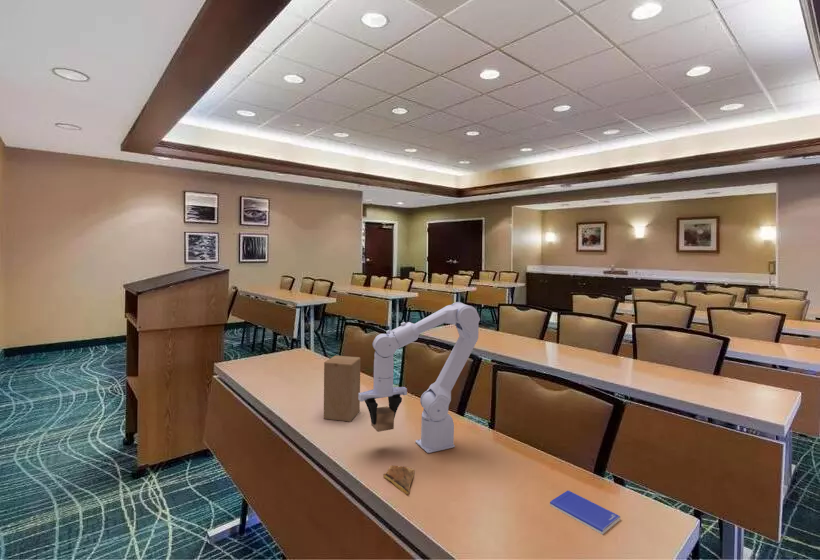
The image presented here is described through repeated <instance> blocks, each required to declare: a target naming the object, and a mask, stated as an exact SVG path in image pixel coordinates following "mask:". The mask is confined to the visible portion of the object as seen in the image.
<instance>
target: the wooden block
mask: <svg viewBox="0 0 820 560" xmlns="http://www.w3.org/2000/svg"><path fill="white" fill-rule="evenodd" d="M323 370H324V371H323V419H324V420H332V421H341V422H342V421H343V422H348V423H349V422H352V420H353V419H354V418H355V417H356V415H358V414H359V412H360V410H361V409H360V408H361V406H360V405H361V402H360V401H359V400H358V393H361V357H359V356H346V355H334V356H332V357H331V358H329V359H327V360H325V361H324V362H323Z"/></svg>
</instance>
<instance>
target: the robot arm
mask: <svg viewBox="0 0 820 560" xmlns="http://www.w3.org/2000/svg"><path fill="white" fill-rule="evenodd" d="M480 321H481V318H480V315H479V312H478V311H477V309H476V308H475V307H474V306H473V305H468V304H465V303H463V302H462V301H461V302H460V301H456V302H454V303H452V304H448V305H445V306H444V307H442V308H441V309H439V310H437V311H435V312H434V313H431V314H430V315H428V316H426V317H424V318H423V319H420V320H419V321H417V322H415V323H413V322H410V321H407V322H405V321H403V322H401V323H400V326H398V327H395V328H393V329H391V330H390V329H388V330H386V331H385V332H386V333H380V334H379V333H378V335H376V336H375V338H374V339H373V341H372V343H371V344H372V347H373V349H374V350H375V351H374V355H373V356H374V359H373V387H372V388H373V389H369V390H366V391H362V392H360V393H358V400H359V401H360V403H361V402H365V405H366V407H367V410H368V412H369V417H370V423H371V422H372V424H373V425H375V424H376V412H377V408H378V406H379V404H378V402H377V400H376V399H383V398H388V407H389V408H390V409H391V410H392V411H393V412H394V419H395V417H396V414H397V411H398V408H399V406H400V404H402V401H403V398H402V397H401V396H408V389H407V387H405V386H400V387H399V386H396V387H394V363H395V361H394V354H396V350H400V348H403V347H404V346H405V347H406V346H407V345H410V344H411V343H413V342H415V341H417V340H418V338H419V336H420V334H422V333H425V332H427V331H429V330H432V329H433V328H436V327H438V326H440V325H443V324H448V325H455V328H456V329H457V333H458V338H457V339H456V342H455V344H454V346H453V348H452V350H451V352H450V354H449V355H448V357H447V359H446V361H445V363H444V365H443V367H442V368H441V370H440V372H439V374H438V376H437V378H436V380H435V382H433V383H431V384H429V387H428V388H427V390H425V391H424V392H423V393H422V394H421V396H420V400H419V401H420V403H419V404H420V405H421V407H422V408H423V410H422V413H421V425H420V429H421V430H420V432H421V433H420V439H415V443H416V444H417V445H418V446H419V447H420V448H421V449H423V450H424V452H426V453H427V454H431V453H435V452H439V451H444V450H448V449H452V448H455V447H456V445H455V444H454V443H455V441H454V439H455V437H454V435H455V424H454V420H453V417H452V415H450V414H449V407H450V403H451V401H452V390H453V388H454V386H455V385H456V382H457V380H458V378H459V376H460V375H461V372H462V371H463V368H464V367H465V365H466V363H467V361H468V359H469V358H470V355H471V354H472V352H473V349H474V348H475V346H476V344H477V342H478V340H479V323H480Z"/></svg>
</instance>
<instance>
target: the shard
mask: <svg viewBox="0 0 820 560" xmlns="http://www.w3.org/2000/svg"><path fill="white" fill-rule="evenodd" d="M414 474H415V469H414V468H410V467H409V466H401V465H392V464H391V465H389V467H388V470H387V471H386V472H385V473H384V474H383V478H384V479H385V480H388V481H389V482H391V483H392V485H394V486H395V487H396V488H397V489H398V490H399V491H400V492H402V493H404V494H406V495H409V493H410V489H411V488H410V487H411V483H412V481H413V478H414Z"/></svg>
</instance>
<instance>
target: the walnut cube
mask: <svg viewBox="0 0 820 560" xmlns="http://www.w3.org/2000/svg"><path fill="white" fill-rule="evenodd" d="M370 423H371V424H370V426H371V427H373V429H374V430H375V431H376V432H383V431H384V432H385V431H390V430H394V429H395V418H394V412H393V411H392V410H391V409H390V408H389V405H387V406H386V405H385V406H381V407H377V412H376V424H375V425H373V424H372V422H371V421H370Z"/></svg>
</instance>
